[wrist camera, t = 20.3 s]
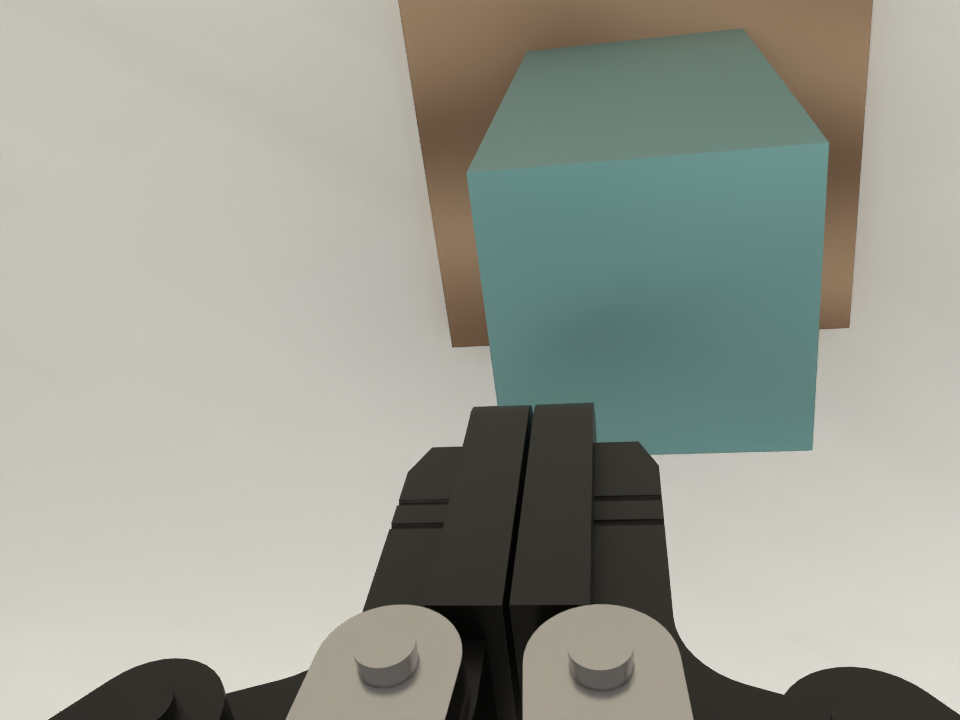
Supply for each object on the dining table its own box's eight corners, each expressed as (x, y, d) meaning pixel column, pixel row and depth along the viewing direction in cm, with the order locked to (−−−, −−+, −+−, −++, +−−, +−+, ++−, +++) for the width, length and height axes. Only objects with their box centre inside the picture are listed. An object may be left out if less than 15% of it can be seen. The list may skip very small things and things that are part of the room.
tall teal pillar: (740, 233, 26) (812, 450, 16) (545, 246, 27) (505, 458, 17) (743, 27, 23) (829, 142, 14) (527, 51, 24) (466, 173, 15)
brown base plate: (843, 316, 27) (916, 464, 21) (456, 336, 30) (407, 476, 23) (874, -131, 22) (987, -129, 15) (394, -67, 24) (306, -39, 17)
